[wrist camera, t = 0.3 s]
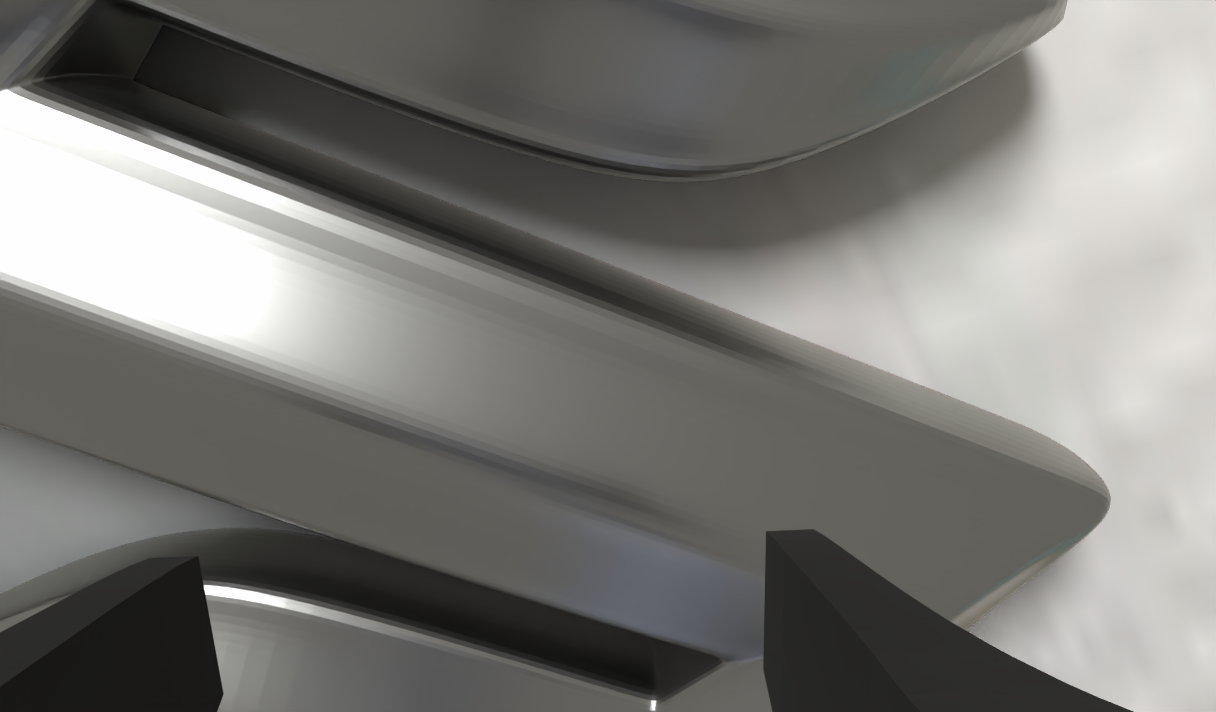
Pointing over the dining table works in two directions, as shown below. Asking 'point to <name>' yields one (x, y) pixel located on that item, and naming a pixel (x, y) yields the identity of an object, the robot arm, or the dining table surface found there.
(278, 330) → the emblem
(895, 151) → the dining table surface
